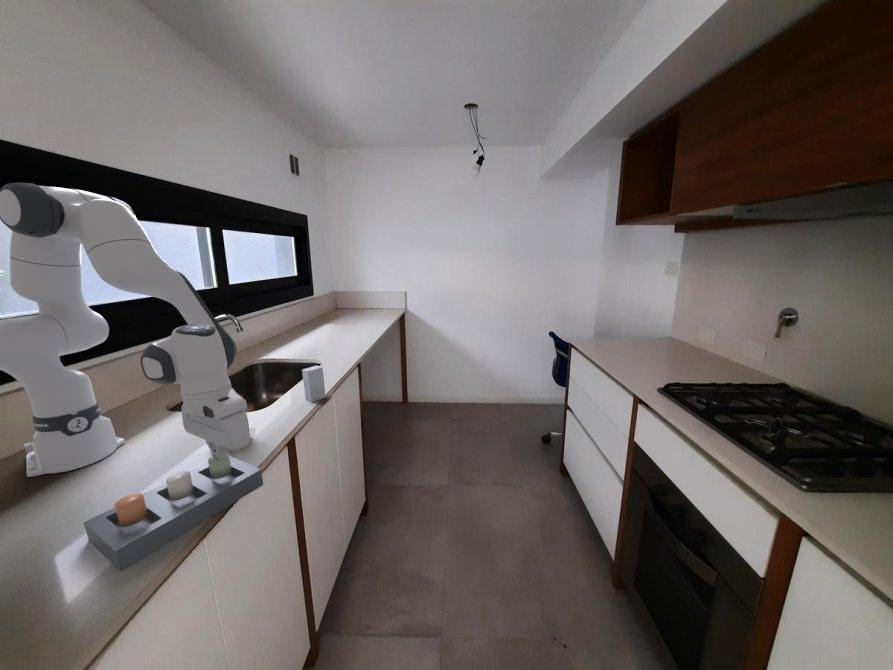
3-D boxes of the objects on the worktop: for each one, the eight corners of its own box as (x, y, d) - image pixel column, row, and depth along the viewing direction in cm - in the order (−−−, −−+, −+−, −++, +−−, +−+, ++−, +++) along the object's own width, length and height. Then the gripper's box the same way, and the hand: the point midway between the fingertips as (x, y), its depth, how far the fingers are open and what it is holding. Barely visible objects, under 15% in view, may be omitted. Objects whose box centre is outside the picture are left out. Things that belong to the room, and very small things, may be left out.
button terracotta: (115, 521, 66) (111, 503, 65) (142, 508, 69) (137, 490, 68) (125, 529, 64) (120, 510, 63) (151, 515, 67) (147, 497, 66)
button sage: (207, 475, 79) (204, 459, 78) (225, 466, 83) (222, 451, 82) (217, 480, 77) (214, 464, 76) (235, 471, 81) (232, 455, 80)
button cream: (165, 496, 73) (162, 479, 72) (187, 485, 76) (184, 469, 75) (175, 502, 71) (171, 485, 70) (197, 491, 74) (194, 474, 73)
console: (88, 540, 66) (83, 522, 66) (228, 468, 88) (226, 454, 88) (120, 571, 60) (115, 551, 59) (263, 484, 82) (261, 469, 81)
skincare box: (319, 395, 135) (316, 364, 132) (326, 397, 132) (323, 366, 129) (304, 400, 130) (301, 369, 127) (311, 403, 127) (307, 371, 125)
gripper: (168, 396, 79) (180, 452, 82) (220, 414, 69) (231, 477, 72) (199, 387, 84) (209, 440, 87) (251, 402, 74) (260, 461, 77)
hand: (219, 457), depth 79 cm, fingers closed
